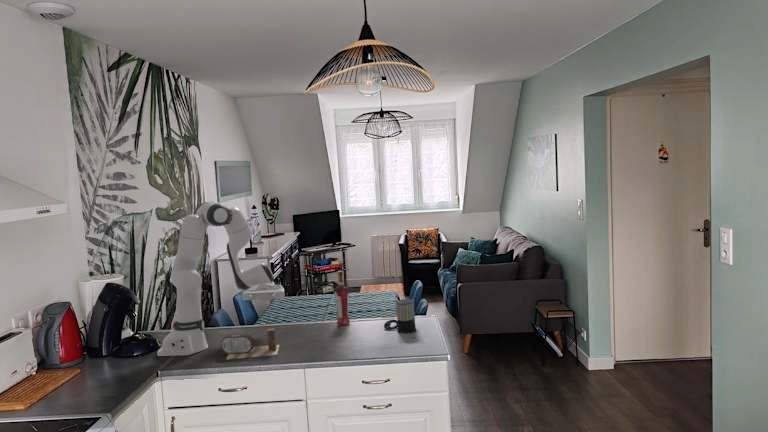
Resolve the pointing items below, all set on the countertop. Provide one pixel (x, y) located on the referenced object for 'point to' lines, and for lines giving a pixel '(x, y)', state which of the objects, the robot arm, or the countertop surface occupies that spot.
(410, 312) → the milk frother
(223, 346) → the tin
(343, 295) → the liquor
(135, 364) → the countertop surface
